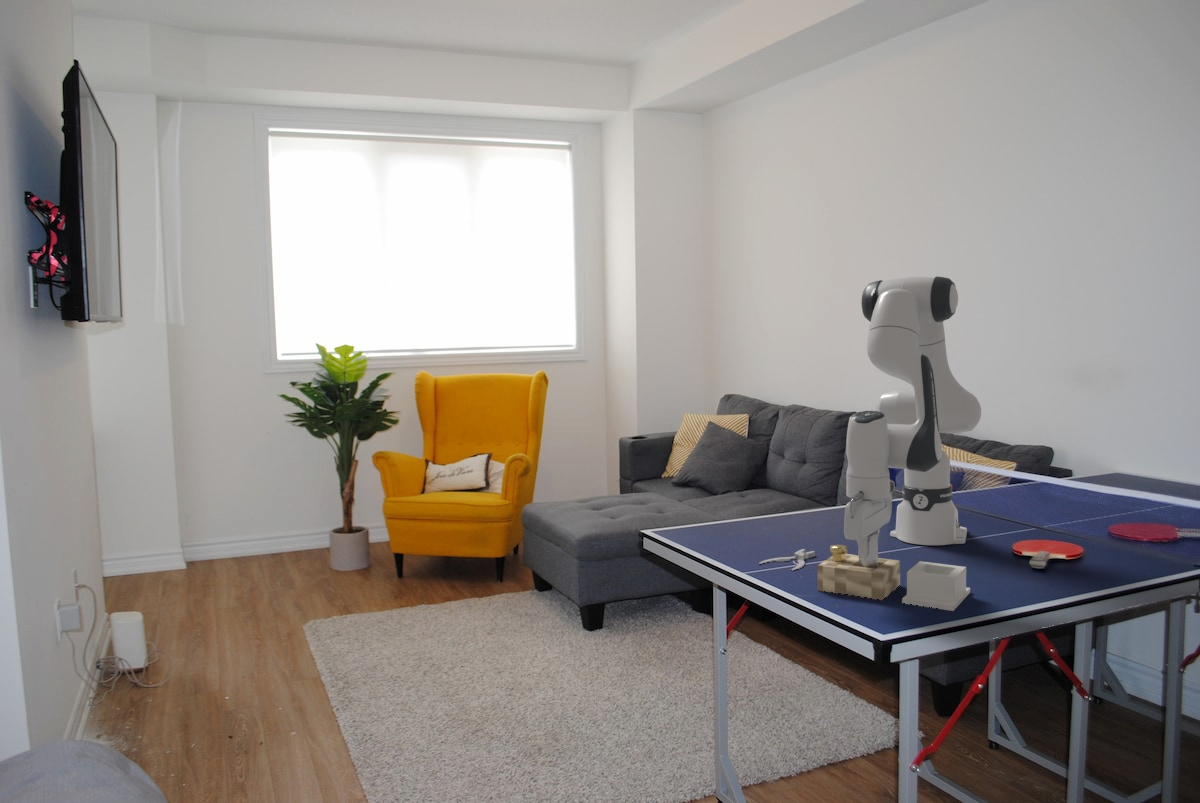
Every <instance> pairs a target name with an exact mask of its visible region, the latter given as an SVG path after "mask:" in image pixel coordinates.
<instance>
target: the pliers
mask: <svg viewBox="0 0 1200 803" xmlns="http://www.w3.org/2000/svg"><path fill="white" fill-rule="evenodd" d="M815 556H816V551H814V550H812V551H811V550H810V551H807V552H806V549H805V548H801V549H799V550H797V551H796V552H794V555H793V556H784V557H782V556H781V557H774V558H769V559H765V560H762V561H759V562H758V565H759V564H762V565H764V564H763V563H765V564H768V563H767V562H769V563H774V562H773V561H776V563H785V562H784V561H789V562H790V561H791V559H793V560H792V564H793V563H794V564H795V567H793V568H791V569H790V571H791V570H792V571H791V572H794V571H793V570H796V569H799V570H800V568H801V569H803V567H805V565H806V562H805V560H808V559H810V558H813V557H815ZM795 560H797V561H796V562H797V563H796V562H795ZM794 564H793V565H794ZM796 565H797V566H796ZM796 571H797V570H796Z"/></svg>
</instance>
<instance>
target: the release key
mask: <svg viewBox="0 0 1200 803" xmlns="http://www.w3.org/2000/svg"><path fill="white" fill-rule="evenodd" d="M829 552H830V553H831V554H832V556H833V561H834V562H844V561H845V554H848V546H847V545H843V544H832V545H830V547H829Z"/></svg>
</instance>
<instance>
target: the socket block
mask: <svg viewBox="0 0 1200 803" xmlns="http://www.w3.org/2000/svg"><path fill="white" fill-rule="evenodd" d="M816 569H817V591H818V590H819V591H818V592H824V591H825V592H826V593H831V592H833V594H838V593H841V594H840V595H844V594H848V595H847V596H851V595H855V596H854V597H857V596H860V597H859V598H864V597H867V598H866V599H870V598H872V600H877V599H879V601H884V600H885V599H886V598H887V597H888V596H889V595H891V594H892V593H893V592H894V591H896V590H897V589H898V588H899V587H900V586H901V560H898V559H889V558H882V557H878V568H877V569H873V568H866V567H859V554H858V555H857V554H852V553H851V554H850V553H846V554H845V561H844V562H834V561H833V555H831V556H830V557H828V558H826V559H825V560H823V561H822V562H820V563H819V564H818V565H817V567H816ZM899 585H900V586H899ZM898 586H899V587H898ZM897 587H898V588H897ZM896 588H897V589H896ZM892 591H893V592H892ZM825 592H824V593H825ZM891 592H892V593H891ZM890 593H891V594H890ZM885 597H886V598H885ZM884 598H885V599H884ZM883 599H884V600H883Z"/></svg>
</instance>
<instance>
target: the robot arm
mask: <svg viewBox="0 0 1200 803" xmlns="http://www.w3.org/2000/svg"><path fill="white" fill-rule="evenodd" d="M861 296H862V297H861V302H860V303H861V304H860V305H861V309H862V314H863V317H864V318H865V319H867V321H868V322H870V324H869V329H868V334H867V344H866V345H867V346H866V348H867V349H866V350H867V351H866V352H867V356H868V358H869V360H870V362H871V363H872V364H873V366H875V368H877V369H878V370H879V371H880V372H883V373H884V374H886V375H889V376H891V377H894V378H896V379H899V380H901V381H904V382H906V383H907V384H909V385H911V386H912V387H913V389H909V388H908V389H904V388H903V389H894V390H891V391H885V392H883V393H882V394H881V395H880V397H879V398H878V399H877V402H876V405H875V410H864V411H857V412H855V413H853V414H852V415H850V417H849V419H848V423H847V431H846V442H845V444H846V445H845V453H846V454H845V455H846V458H847V459H846V460H847V469H846V473H845V474H846V476H845V477H846V485H845V486H846V493H845V494H846V497H848V498H851V500H850V501H849V502H847V503H846V504H845V507H844V508H845V509H844V519H843V520H844V521H843V525H844V526H843V533H844V534H843V535H844V537H845V540H850V541H851V540H852V541H856V543H857V548H858V547H859V554H858V555H863V556H866V555H868V554H869V546H868V543H867V540H868V535H870V534H871V533H873V532H874V533H877V534H878V538H879V536H880V532H881V528H882V527H884V526H885V525H887V524H889V523H890V521H891V517H892V510H893V509H892V508H893V492H894V491H895V481H894V480H892V479H890V474H891V473H890V469H902V470H903V472H904V473H903V474H904V479H903V480H904V483H903V485H902V489H901V490H902V491H901V493H902V499H903V500H902V501H901V502H900V503H898V505H897V507H896V518H895V520H896V521H895V529H894V530H891V531H890V533H889V536H890V537H893V538H896V539H898V540H899V541H902V542H905V543H907V544H913V545H920V546H921V545H922V546H946V545H962V544H966V541H967V535H968V529H967V527H964V526H961V524H960V522H959V512H958V508H957V507H956V505H955V504H954V503H953V501H952V500H953V484H951V483H950V482H951V460H950V457H949V455H948V454H947V453H946V452H945V450H943V445H942V444H943V443H942V438H941V436H940V434H951V435H952V434H957V433H958V434H959V433H966V432H972V431H973V430H974V429H975V428H976V427H977V425H978V424H979V423H980V420H981V418H982V417H981V416H982V407H981V404H980V402H979V399H978V398H977V397H976V395H974V394H973V393H971V392H970V391H968V390H967V389H966V388H964V387H963V386H962V384H960V383H959V382H958V381H957V379H956V378H955V376H954V374H953V373H952V371H951V368H950V366H949V362H948V356H947V354H948V353H947V348H946V338H945V325H944V321H947V320H949V319H951V318H952V316H954V314H955V313H956V310H957V307H958V303H959V293H958V289H957V286H956V284H955V282H954V281H953V280H952V279H951V278H949V277H944V276H935V277H931V276H930V277H929V276H909V277H905V278H904V277H903V278H893V279H887V280H881V279H880V280H876V281H875V280H874V281H873V282H870V283H867V285H866V286H865V288H864V289H863V291H862V294H861ZM889 468H890V469H889Z"/></svg>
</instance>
